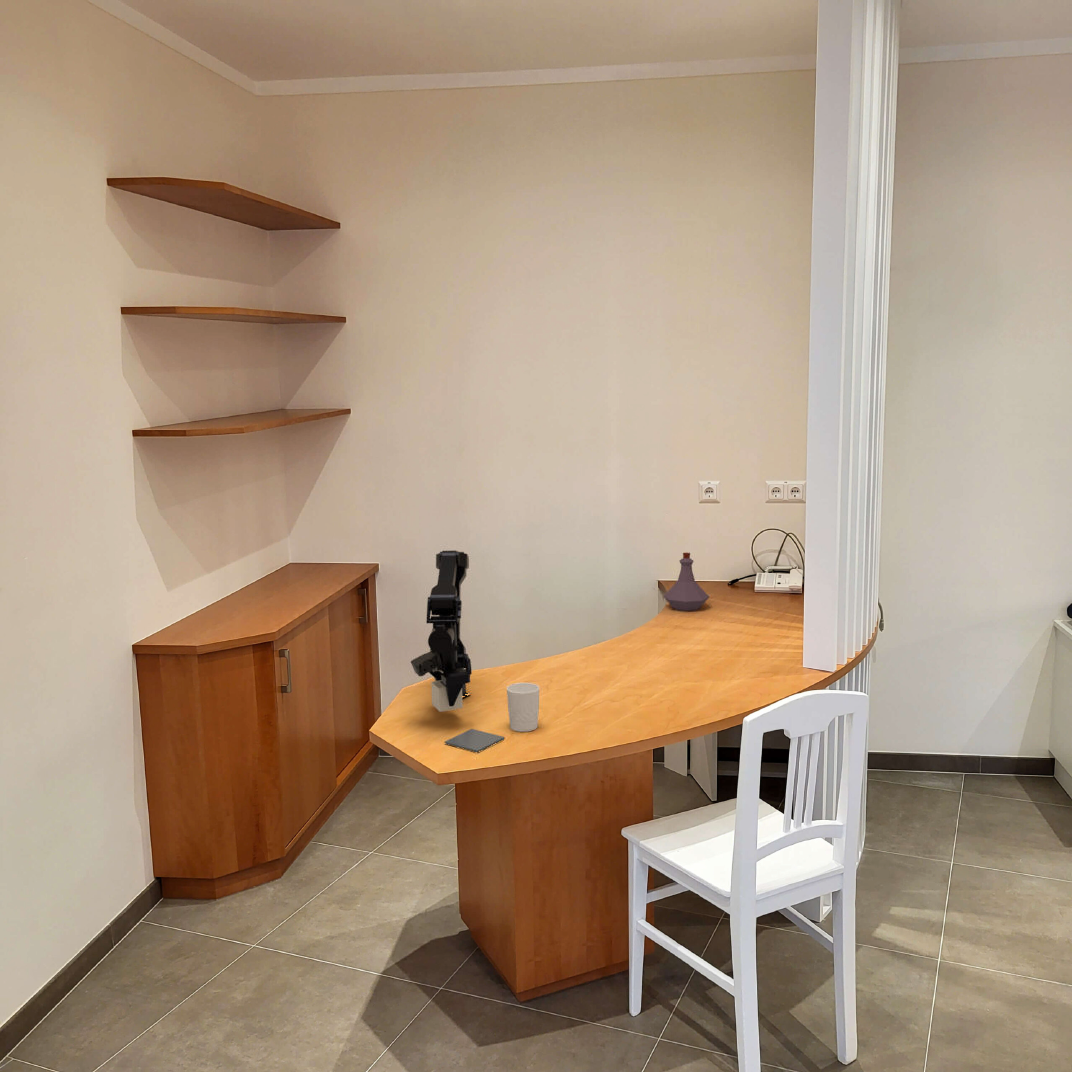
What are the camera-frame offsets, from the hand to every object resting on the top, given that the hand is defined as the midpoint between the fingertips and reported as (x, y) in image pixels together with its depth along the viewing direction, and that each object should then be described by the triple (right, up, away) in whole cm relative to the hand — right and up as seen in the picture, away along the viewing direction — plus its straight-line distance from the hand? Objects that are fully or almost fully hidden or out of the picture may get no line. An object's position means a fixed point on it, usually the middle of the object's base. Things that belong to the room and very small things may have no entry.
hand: (447, 702), depth 247 cm
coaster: (+8, -7, -16) cm, 19 cm away
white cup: (+19, -5, -7) cm, 21 cm away
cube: (0, -1, 0) cm, 1 cm away
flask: (+76, +15, +107) cm, 132 cm away
